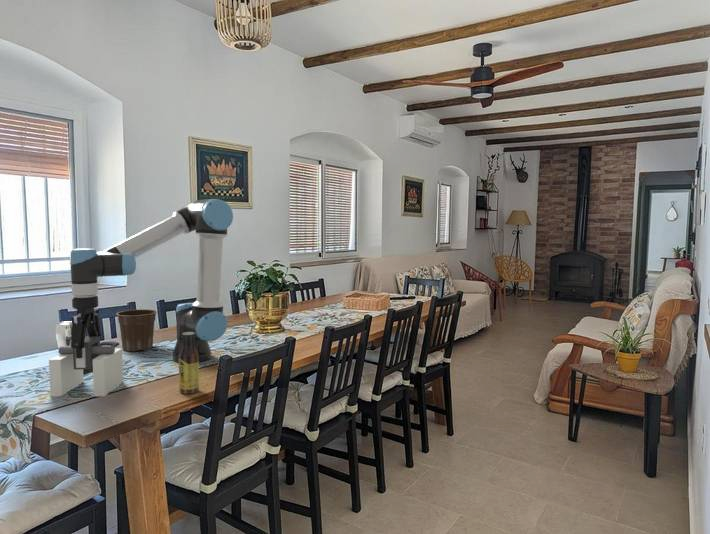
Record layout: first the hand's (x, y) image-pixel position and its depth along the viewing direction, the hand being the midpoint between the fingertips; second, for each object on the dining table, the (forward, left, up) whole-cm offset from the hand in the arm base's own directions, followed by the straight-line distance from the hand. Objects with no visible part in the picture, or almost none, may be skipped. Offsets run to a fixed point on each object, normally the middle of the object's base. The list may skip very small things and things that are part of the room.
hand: (87, 363), depth 164 cm
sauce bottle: (-34, +3, -9) cm, 35 cm away
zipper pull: (+12, -27, -9) cm, 30 cm away
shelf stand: (0, 0, -9) cm, 9 cm away
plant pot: (+4, -53, -9) cm, 54 cm away
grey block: (0, 0, -1) cm, 1 cm away
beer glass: (+25, -35, -9) cm, 44 cm away
